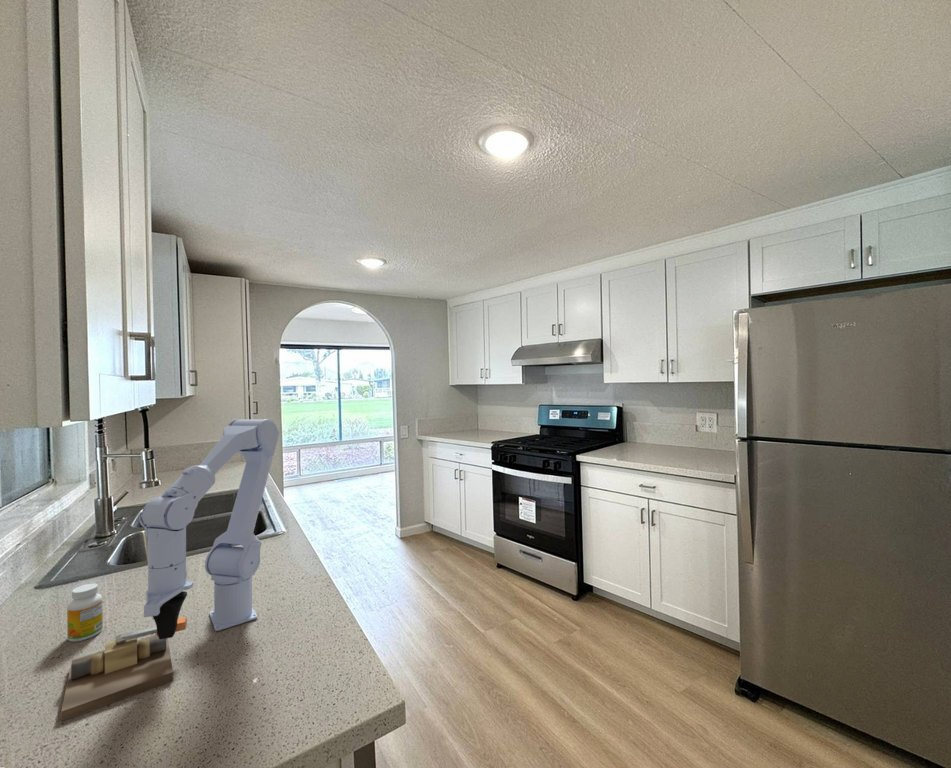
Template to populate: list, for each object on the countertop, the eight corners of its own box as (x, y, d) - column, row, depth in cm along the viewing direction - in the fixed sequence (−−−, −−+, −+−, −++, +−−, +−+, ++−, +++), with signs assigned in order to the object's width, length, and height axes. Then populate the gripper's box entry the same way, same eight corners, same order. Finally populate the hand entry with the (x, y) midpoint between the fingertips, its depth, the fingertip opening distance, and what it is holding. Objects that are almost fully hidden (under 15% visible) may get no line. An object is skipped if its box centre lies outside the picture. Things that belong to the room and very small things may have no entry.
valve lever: (113, 646, 75) (113, 638, 75) (117, 640, 77) (116, 632, 77) (185, 629, 80) (185, 621, 80) (186, 623, 82) (186, 616, 82)
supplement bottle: (64, 636, 88) (64, 589, 88) (99, 624, 92) (98, 579, 92) (70, 645, 85) (70, 596, 85) (105, 633, 89) (105, 586, 89)
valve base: (72, 668, 78) (71, 640, 78) (166, 638, 86) (166, 613, 87) (61, 721, 65) (60, 688, 65) (173, 680, 74) (172, 651, 74)
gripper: (178, 575, 73) (178, 655, 73) (204, 546, 87) (203, 613, 87) (129, 581, 71) (128, 663, 71) (163, 550, 85) (163, 619, 84)
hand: (167, 636), depth 78 cm, fingers closed, pressing on valve lever
